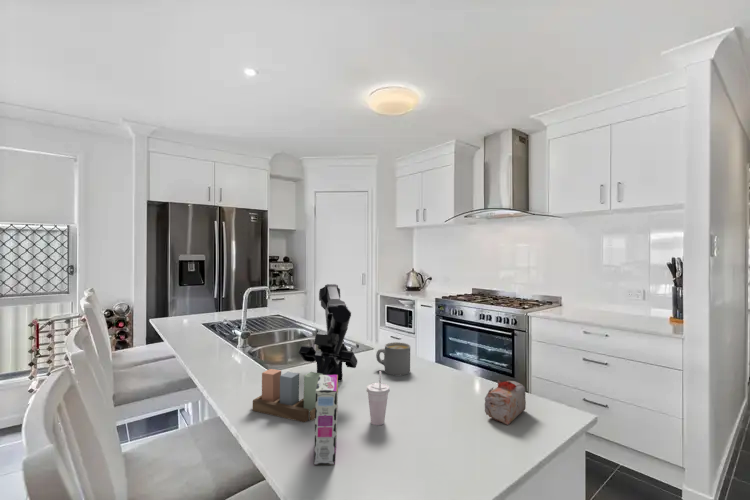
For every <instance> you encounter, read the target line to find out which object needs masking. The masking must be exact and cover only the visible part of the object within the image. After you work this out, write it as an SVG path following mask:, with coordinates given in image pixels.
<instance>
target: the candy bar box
mask: <svg viewBox="0 0 750 500" xmlns="http://www.w3.org/2000/svg"><path fill="white" fill-rule="evenodd" d="M338 387H339V381H338V375H319V378H318V383H317V387H316V405H315V419H314V452H313V453H314V454H313V455H314V456H313V457H314V459H313V465H314V466H332V465H333V466H334V465H335V464H336V454H337V440H338V439H337V438H338V408H339V405H338V403H339V402H338V400H339V393H338V392H339V388H338Z"/></svg>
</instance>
